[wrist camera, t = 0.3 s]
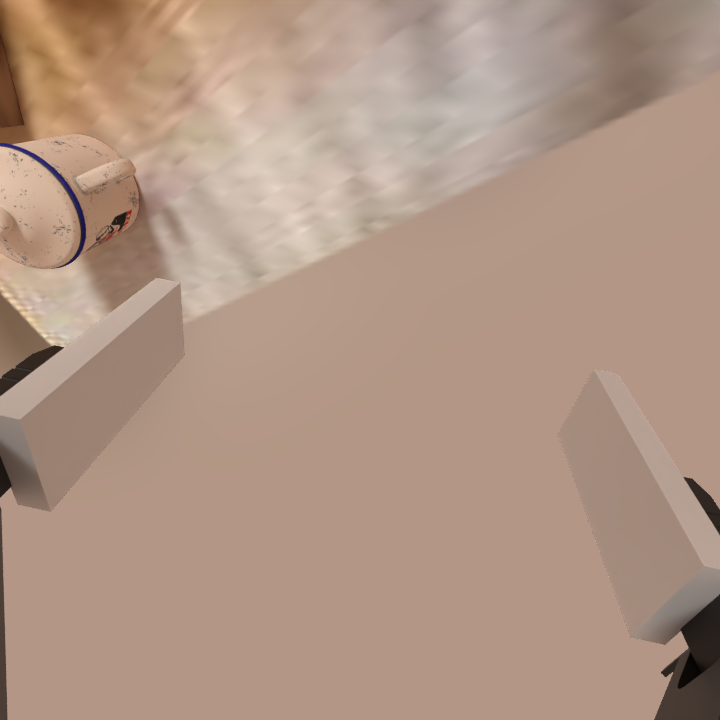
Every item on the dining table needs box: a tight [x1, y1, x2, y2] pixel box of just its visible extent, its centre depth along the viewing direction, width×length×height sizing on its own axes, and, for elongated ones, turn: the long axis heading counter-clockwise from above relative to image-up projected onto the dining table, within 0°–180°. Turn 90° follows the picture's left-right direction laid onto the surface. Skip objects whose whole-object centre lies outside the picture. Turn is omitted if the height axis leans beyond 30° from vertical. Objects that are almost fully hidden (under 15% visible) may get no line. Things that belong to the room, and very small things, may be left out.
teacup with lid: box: [0, 134, 139, 269], centre depth 35 cm, size 12×9×12 cm
